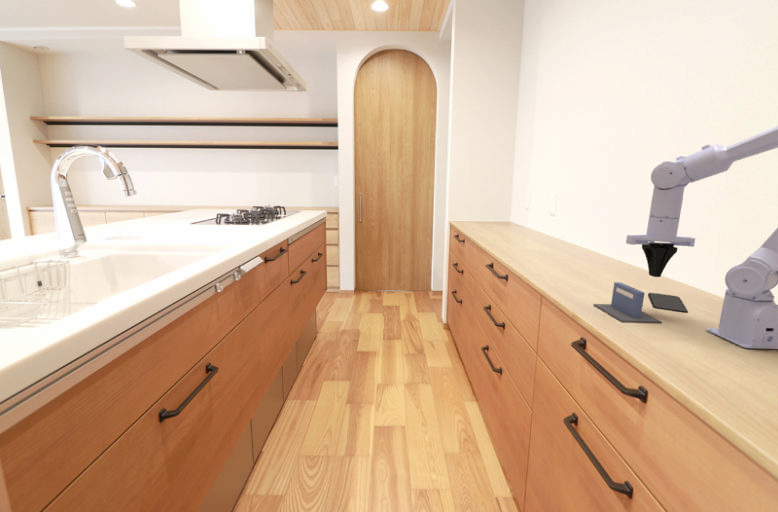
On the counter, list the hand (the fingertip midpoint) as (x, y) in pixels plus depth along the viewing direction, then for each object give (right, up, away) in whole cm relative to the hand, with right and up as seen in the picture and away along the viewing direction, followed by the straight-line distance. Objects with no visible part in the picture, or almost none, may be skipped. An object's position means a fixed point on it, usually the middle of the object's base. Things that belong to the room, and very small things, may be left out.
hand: (654, 276), depth 93 cm
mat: (-6, -9, +2) cm, 11 cm away
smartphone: (+11, -8, +12) cm, 18 cm away
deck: (-6, -9, +2) cm, 10 cm away
